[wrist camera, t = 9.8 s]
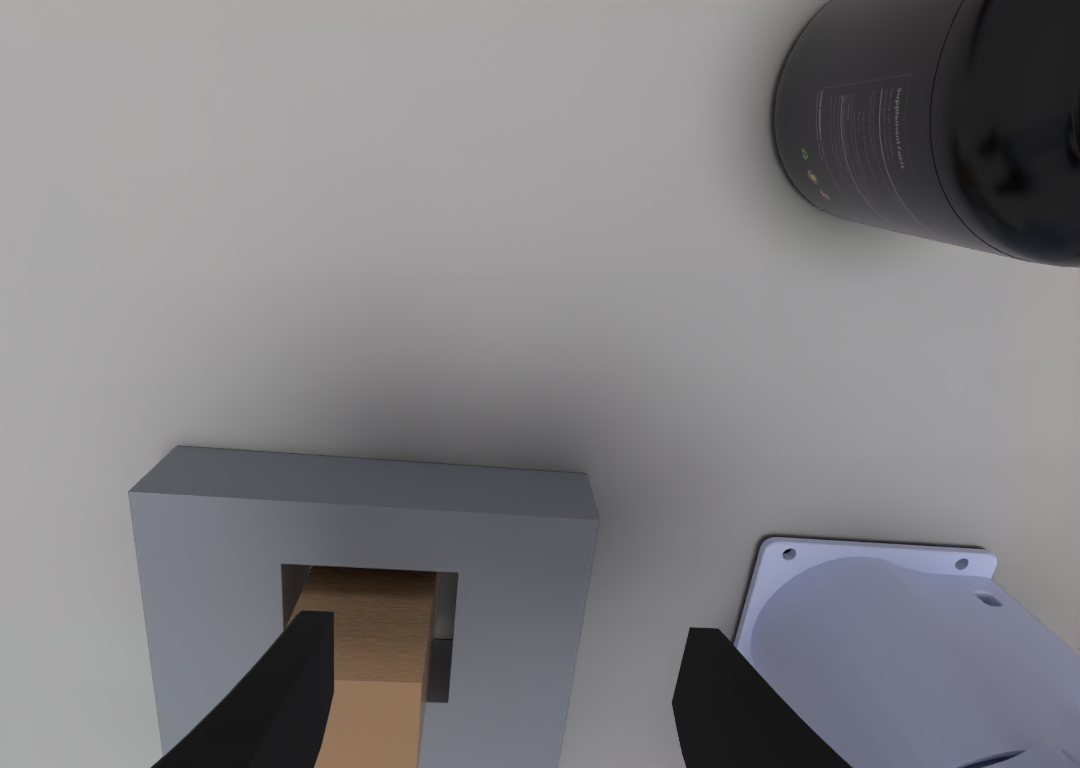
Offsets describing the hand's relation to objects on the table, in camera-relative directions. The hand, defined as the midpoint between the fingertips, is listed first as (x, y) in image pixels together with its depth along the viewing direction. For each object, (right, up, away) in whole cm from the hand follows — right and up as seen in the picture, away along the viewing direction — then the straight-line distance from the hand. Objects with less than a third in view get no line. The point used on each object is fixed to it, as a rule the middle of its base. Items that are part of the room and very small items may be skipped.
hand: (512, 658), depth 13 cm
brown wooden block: (-5, -2, +11) cm, 12 cm away
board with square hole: (-6, -5, +12) cm, 14 cm away
